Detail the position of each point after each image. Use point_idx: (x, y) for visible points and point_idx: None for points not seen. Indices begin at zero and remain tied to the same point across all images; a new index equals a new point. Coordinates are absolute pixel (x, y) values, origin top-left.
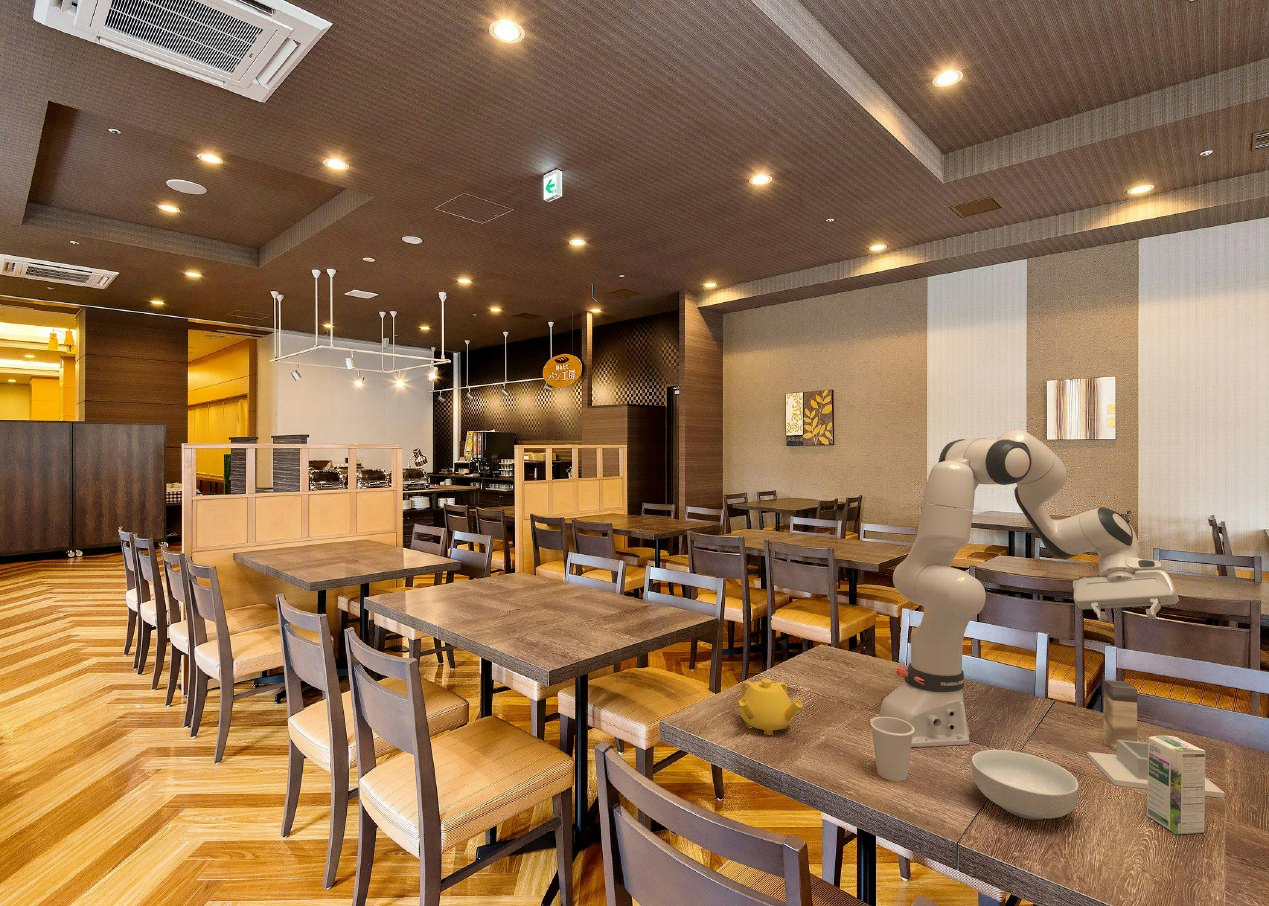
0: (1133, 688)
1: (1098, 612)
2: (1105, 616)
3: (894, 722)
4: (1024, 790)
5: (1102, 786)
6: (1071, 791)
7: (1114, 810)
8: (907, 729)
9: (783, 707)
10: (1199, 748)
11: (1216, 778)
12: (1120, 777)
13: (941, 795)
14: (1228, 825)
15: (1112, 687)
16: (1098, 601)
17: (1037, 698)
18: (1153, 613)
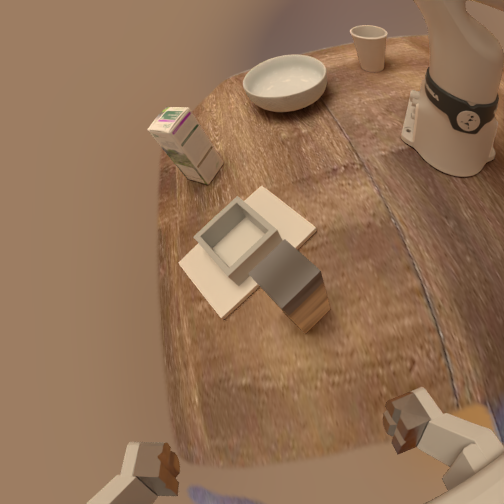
0: (254, 270)
1: (434, 411)
2: (396, 430)
3: (380, 39)
4: (265, 61)
5: (269, 176)
6: (244, 80)
7: (245, 148)
8: (367, 41)
9: None
10: (151, 128)
11: (194, 317)
12: (259, 196)
13: (332, 72)
14: (175, 210)
15: (288, 242)
16: (472, 476)
17: (481, 398)
18: (129, 444)
